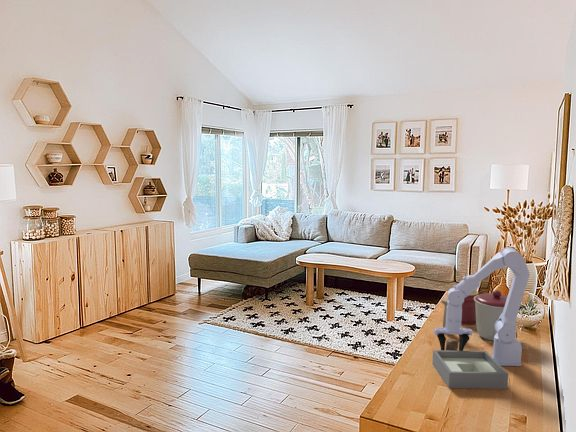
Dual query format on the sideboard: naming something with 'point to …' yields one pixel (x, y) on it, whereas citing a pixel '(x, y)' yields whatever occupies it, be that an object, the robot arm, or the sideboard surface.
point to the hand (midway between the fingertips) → (451, 351)
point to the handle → (444, 310)
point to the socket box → (469, 369)
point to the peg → (452, 344)
